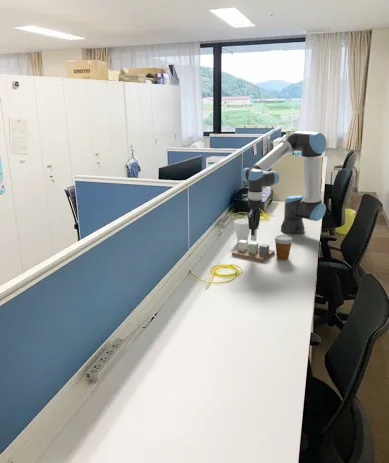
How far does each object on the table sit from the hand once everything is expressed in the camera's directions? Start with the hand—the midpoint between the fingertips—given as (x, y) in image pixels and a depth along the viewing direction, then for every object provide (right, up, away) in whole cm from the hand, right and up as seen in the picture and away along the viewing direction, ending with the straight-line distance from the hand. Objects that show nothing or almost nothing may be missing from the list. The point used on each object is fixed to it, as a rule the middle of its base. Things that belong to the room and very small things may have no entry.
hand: (253, 240), depth 227 cm
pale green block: (0, -6, +2) cm, 7 cm away
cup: (-4, -2, +22) cm, 22 cm away
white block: (-5, -5, +6) cm, 9 cm away
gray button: (+6, -7, -1) cm, 9 cm away
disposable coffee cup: (+15, -10, -3) cm, 19 cm away
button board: (0, -8, +3) cm, 9 cm away
